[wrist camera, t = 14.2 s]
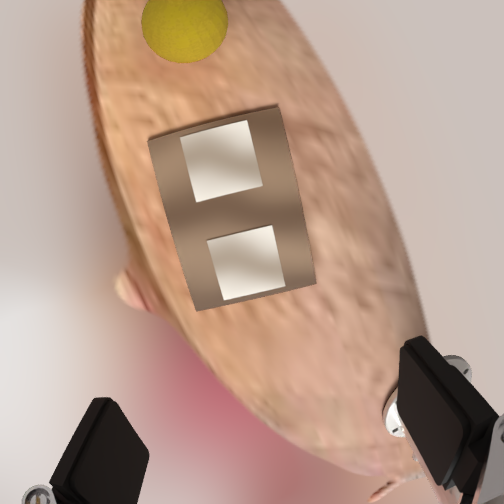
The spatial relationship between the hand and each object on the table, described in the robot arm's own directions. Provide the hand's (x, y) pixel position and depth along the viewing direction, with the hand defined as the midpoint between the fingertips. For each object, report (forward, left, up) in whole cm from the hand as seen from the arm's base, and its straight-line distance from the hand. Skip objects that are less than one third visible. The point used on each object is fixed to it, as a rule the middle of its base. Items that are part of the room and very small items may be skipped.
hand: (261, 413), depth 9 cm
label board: (+4, 0, -16) cm, 16 cm away
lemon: (+18, 0, -16) cm, 24 cm away
